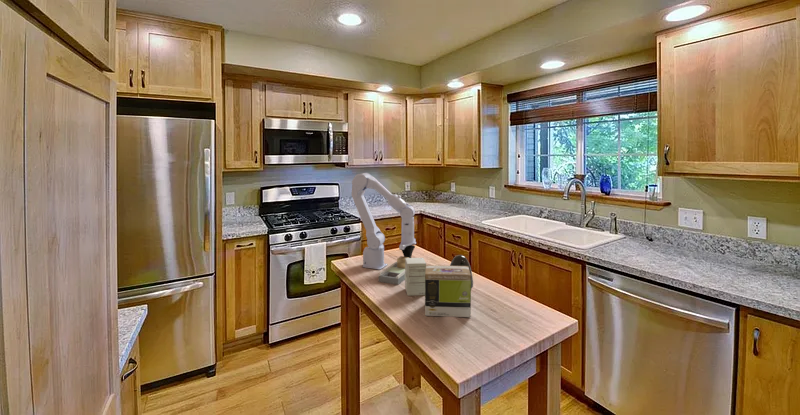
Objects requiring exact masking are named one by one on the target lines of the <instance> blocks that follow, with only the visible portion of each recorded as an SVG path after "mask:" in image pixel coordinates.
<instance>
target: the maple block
mask: <svg viewBox="0 0 800 415" xmlns="http://www.w3.org/2000/svg"><path fill="white" fill-rule="evenodd" d="M405 258H409V257H404V255H403V256H402V255H400V256H399V257H398V258H396V262H397V267H398V268H405Z"/></svg>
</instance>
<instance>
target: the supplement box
mask: <svg viewBox="0 0 800 415" xmlns="http://www.w3.org/2000/svg"><path fill="white" fill-rule="evenodd" d="M426 265H427V262H426V260H425V258H424V257H411V258H405V280H404V281H405V282H404V289H405V291H406V292H405V293H406V295H407V296H408V297H409V296H425V270H426Z"/></svg>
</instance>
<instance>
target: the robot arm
mask: <svg viewBox="0 0 800 415" xmlns="http://www.w3.org/2000/svg"><path fill="white" fill-rule="evenodd" d="M351 184H352V186H351V194H350V196H351V198H352V200H353V203H354V206H355V208H356V210H357V212H358V214H359V216H360V219H361V221H362V224H363V226H364V229H365V231H366V232H365V237H366V244H367V246H365V247H364V249H363V252H362V268H366V269H371V270H372V269H373V270H383V268H386V267H387V266H389V265H388V263H385V245H384V243H385V241H386V236H385V234H384V233H383V232H382V231H381V229H380V227H379V226H377V224H376V221H375V219H374V217H373V214H372V212H371V209H370V208H369V207H370V206H369V205H368V203H367V200H366V198H365V192H366V190H367V189H372V190H375V192H377V193H378V194H379V195H381V196H382V197H383V198H384V199H385V200H387V204H388V205H389V206H390V207H391V209H393V210H395V211H396V212H397V213H398V214H399V216H400V217H401V234H400V235H401V237H400V238H401V242H400V244H399V246H398V247H399V250H401V252H402V254H403V257H409V258H412V254H413V253H414V250H415V247H416V246H415V245H416V244H417V241H416V238H415V217H414V216H415V214H416V209H415V207H414V206H413V205H411V204H409V202H406V201H405V200H404V199H402V196H401V195H400V194H399V195H398V194H396V193H395V194H394V193H393V194H392V192H390V190H389V189H387V188H386V187H385V186H384V185H383V184H382V183H381V182H379V180H377V178H376V177H374V176H373V175H371V174H370V173H369V172H363V173H357V174H356V175H355V176H354V177H353V179H352V181H351Z"/></svg>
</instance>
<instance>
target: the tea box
mask: <svg viewBox="0 0 800 415" xmlns="http://www.w3.org/2000/svg"><path fill="white" fill-rule="evenodd" d="M471 295H472V289H471V274H470V271H469V267H468V266H450V265H439V264H438V265H437V264H436V265H431V264H430V265H429V264H428V265H427V264H426V270H425V295H424V309H425V310H424V315H425V316H426V317H427V316H429V317H431V316H432V317H454V318H471V312H472V311H471V310H472V305H471V304H472V296H471Z"/></svg>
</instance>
